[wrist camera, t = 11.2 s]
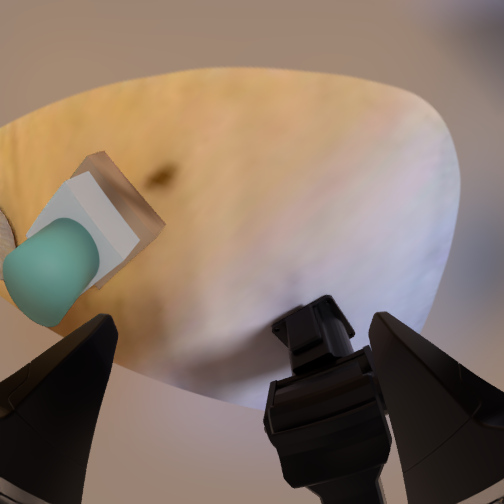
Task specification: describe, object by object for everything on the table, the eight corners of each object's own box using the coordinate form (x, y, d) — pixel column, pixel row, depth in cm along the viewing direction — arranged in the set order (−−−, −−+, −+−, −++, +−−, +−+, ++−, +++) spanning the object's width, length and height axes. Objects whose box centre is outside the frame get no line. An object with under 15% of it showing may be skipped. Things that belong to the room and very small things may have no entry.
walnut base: (167, 222, 21) (156, 237, 18) (112, 271, 23) (98, 289, 21) (106, 149, 18) (87, 155, 15) (59, 210, 20) (40, 222, 18)
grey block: (140, 240, 18) (124, 260, 16) (92, 278, 20) (75, 299, 17) (88, 170, 16) (64, 181, 13) (46, 220, 18) (25, 235, 15)
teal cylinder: (112, 259, 16) (75, 306, 11) (78, 293, 17) (46, 337, 13) (64, 202, 14) (14, 234, 9) (37, 245, 15) (-4, 280, 11)
